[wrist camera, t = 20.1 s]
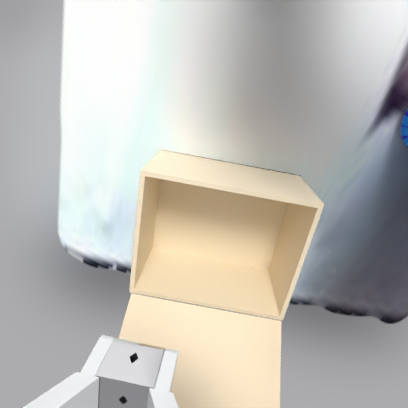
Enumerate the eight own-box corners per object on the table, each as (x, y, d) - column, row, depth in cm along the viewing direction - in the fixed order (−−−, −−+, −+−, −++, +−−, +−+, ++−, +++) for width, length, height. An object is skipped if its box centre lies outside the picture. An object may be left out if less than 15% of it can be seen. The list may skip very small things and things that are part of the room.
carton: (161, 149, 45) (140, 170, 34) (300, 175, 45) (324, 204, 34) (149, 249, 52) (129, 293, 41) (270, 271, 52) (282, 321, 41)
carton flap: (96, 417, 33) (97, 417, 33) (279, 451, 33) (277, 450, 33) (131, 293, 40) (131, 294, 41) (281, 321, 40) (280, 321, 41)
